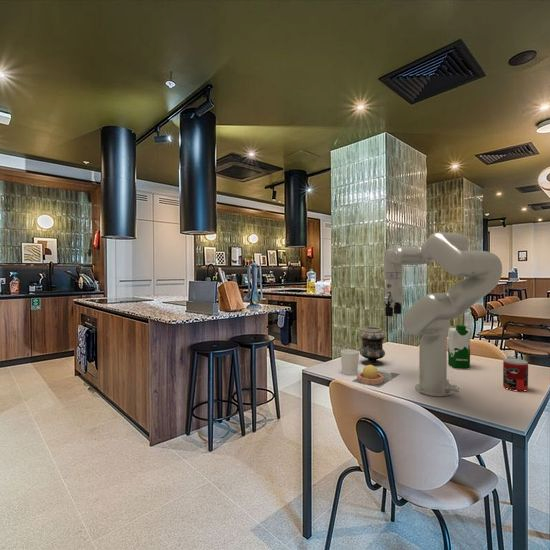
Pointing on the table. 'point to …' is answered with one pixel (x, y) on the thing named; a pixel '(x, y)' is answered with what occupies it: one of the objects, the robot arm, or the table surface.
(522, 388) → the canned food
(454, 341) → the milk carton
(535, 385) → the table surface
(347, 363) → the white cup
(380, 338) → the apothecary jar
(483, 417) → the table surface
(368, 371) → the ball
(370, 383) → the saucer
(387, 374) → the white thin block
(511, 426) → the table surface
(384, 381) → the mat
